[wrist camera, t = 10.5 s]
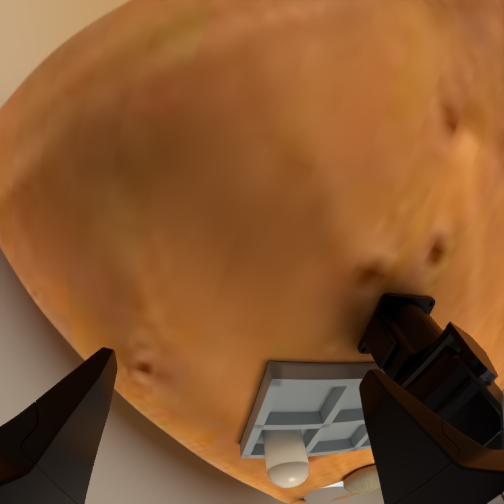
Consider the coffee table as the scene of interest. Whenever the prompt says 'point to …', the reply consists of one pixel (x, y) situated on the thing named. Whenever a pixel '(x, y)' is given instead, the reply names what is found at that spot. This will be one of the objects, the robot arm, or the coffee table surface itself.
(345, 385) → the grey compartment tray
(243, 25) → the coffee table surface
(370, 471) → the sea urchin shell
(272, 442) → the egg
